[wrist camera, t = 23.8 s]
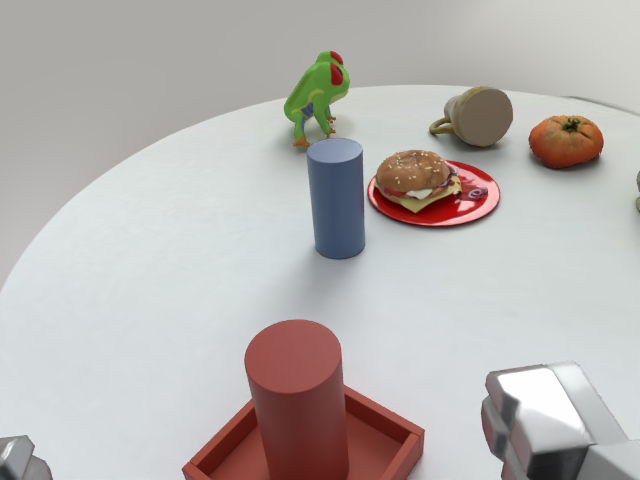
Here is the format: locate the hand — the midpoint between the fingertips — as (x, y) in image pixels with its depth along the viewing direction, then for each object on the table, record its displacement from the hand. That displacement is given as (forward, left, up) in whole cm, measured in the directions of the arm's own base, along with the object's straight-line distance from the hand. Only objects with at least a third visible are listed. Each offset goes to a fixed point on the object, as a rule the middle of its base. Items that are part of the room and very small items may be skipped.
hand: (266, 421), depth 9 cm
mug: (+57, +20, -22) cm, 64 cm away
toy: (+49, +38, -22) cm, 66 cm away
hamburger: (+42, +17, -22) cm, 50 cm away
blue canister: (+29, +20, -22) cm, 42 cm away
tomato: (+57, +8, -22) cm, 61 cm away
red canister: (+9, +8, -21) cm, 25 cm away
